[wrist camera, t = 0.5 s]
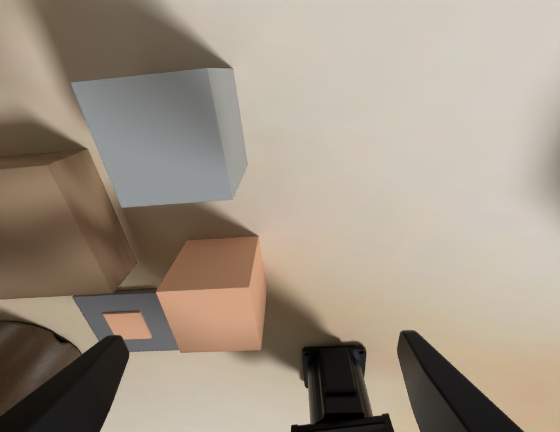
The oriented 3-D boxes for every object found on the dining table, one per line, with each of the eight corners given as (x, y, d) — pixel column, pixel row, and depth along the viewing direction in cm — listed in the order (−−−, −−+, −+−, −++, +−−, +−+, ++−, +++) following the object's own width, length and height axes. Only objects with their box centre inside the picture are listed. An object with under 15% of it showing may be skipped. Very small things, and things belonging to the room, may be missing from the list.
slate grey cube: (247, 163, 19) (232, 199, 14) (166, 170, 20) (121, 207, 14) (233, 68, 16) (207, 67, 11) (138, 78, 17) (70, 82, 12)
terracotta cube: (267, 290, 25) (261, 350, 20) (203, 293, 25) (180, 352, 20) (258, 235, 22) (249, 287, 17) (187, 239, 23) (155, 291, 17)
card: (180, 345, 29) (178, 351, 28) (108, 348, 29) (104, 354, 29) (157, 288, 25) (154, 294, 24) (75, 293, 26) (70, 298, 25)
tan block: (138, 260, 24) (113, 293, 20) (33, 267, 25) (-9, 299, 21) (90, 147, 19) (46, 165, 16) (-38, 160, 20) (-107, 179, 16)
